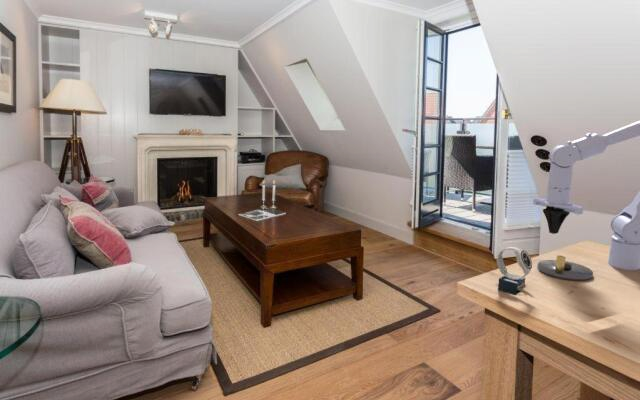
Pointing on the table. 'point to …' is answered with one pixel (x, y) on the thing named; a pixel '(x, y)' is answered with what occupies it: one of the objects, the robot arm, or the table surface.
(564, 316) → the table surface
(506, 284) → the watch
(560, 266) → the handwheel
